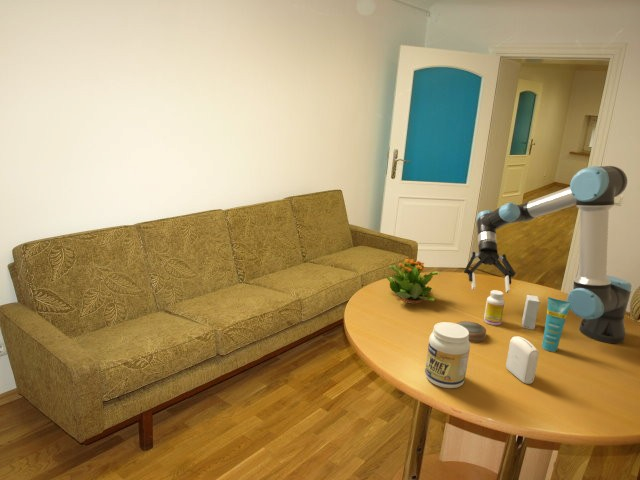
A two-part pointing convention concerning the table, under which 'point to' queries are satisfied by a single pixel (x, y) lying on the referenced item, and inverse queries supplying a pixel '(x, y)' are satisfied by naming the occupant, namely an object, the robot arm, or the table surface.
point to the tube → (554, 323)
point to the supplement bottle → (494, 308)
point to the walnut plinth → (474, 331)
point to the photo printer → (522, 359)
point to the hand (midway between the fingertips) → (490, 290)
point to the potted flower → (411, 282)
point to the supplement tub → (447, 355)
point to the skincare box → (530, 312)
